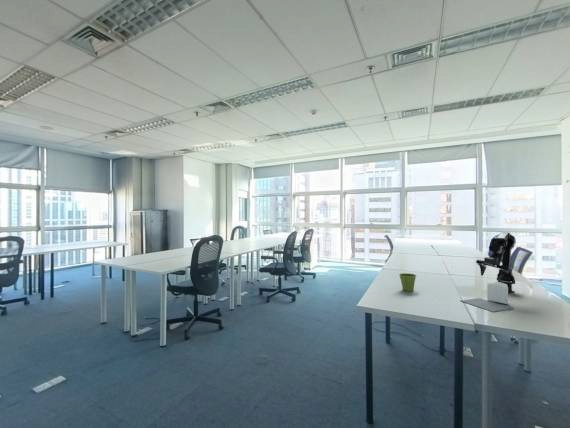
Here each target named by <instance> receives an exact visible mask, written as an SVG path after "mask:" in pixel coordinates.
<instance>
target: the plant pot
mask: <svg viewBox="0 0 570 428" xmlns="http://www.w3.org/2000/svg"><path fill="white" fill-rule="evenodd" d="M398 276H399V278H400V281H401V287H402V290H403V291H404V292H413V291H414V289H415V282H416V278H417V274H414V273H406V272H405V273H404V272H403V273H398Z"/></svg>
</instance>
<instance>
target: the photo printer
mask: <svg viewBox="0 0 570 428" xmlns="http://www.w3.org/2000/svg"><path fill="white" fill-rule="evenodd" d="M486 287H487V289H486V292H487V293H486V296H487V297H486V300H488V301H491V302H494V303H498V304H503V305H505V304H506V305H508V304H509V293H508V286H507V284H504V283H501V282H498V281H488V282H487V285H486Z"/></svg>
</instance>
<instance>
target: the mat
mask: <svg viewBox="0 0 570 428" xmlns="http://www.w3.org/2000/svg"><path fill="white" fill-rule="evenodd" d="M460 302H461V303H465V304H468V305H470V306H474V307H477V308H479V309H482V310H485V311H489V312H492V313H495V312H496V313H497V312H503V311H508V310H514V309H515V308H513V307H512V306H507V305H505V304H502V303H499V302H494V301H488V300H487V299H483V298H480V297H478V298H470V299H469V298H468V299H462V300H460Z"/></svg>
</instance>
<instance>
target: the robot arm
mask: <svg viewBox="0 0 570 428" xmlns="http://www.w3.org/2000/svg"><path fill="white" fill-rule="evenodd" d="M516 240H517V239H516V237H515V236H514V235H512V234H511V232H506V231H501V232H500V234H498V236H494V237H492V238H491V239H490V242H489V246H488V249H489V251H490V252H491V254H490V255H489V256H486V257H484V258H483V259H476V262H475V264H477V265H478V266H479V269H480V276H484V274H485V272H486V269H487V266H488V267H492V268H495V269H498V273H497V275H496V281H497V282H501V283H504V284H507V286H508V294H509V293H515V291H514V290H513V285H515V284H516V279H515V277H514V274H513V269H512V268H511V261H512V260H511V257H512V250H513V249H514V248H515V245H516V243H517V241H516Z"/></svg>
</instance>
